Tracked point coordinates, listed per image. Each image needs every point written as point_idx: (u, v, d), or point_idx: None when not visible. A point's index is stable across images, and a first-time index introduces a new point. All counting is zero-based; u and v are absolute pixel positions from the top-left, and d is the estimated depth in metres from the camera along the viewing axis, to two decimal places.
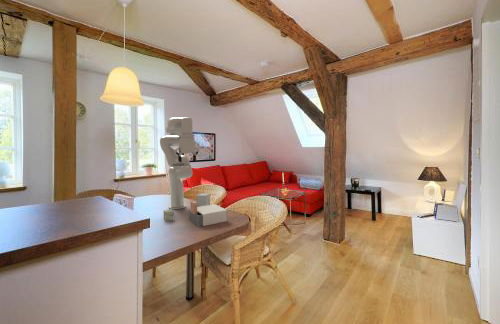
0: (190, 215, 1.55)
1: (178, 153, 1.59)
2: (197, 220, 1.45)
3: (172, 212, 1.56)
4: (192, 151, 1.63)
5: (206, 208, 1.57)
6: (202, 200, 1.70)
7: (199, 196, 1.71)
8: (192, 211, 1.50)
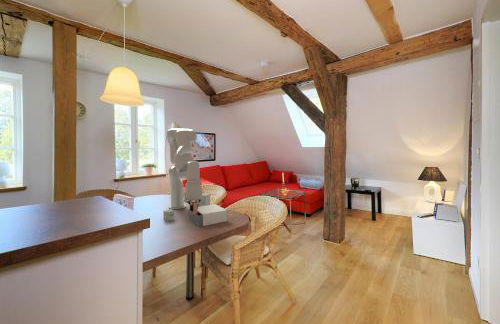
0: (190, 215, 1.55)
1: (189, 203, 1.48)
2: (197, 220, 1.45)
3: (172, 212, 1.56)
4: (199, 197, 1.50)
5: (206, 208, 1.57)
6: (202, 200, 1.70)
7: None
8: None
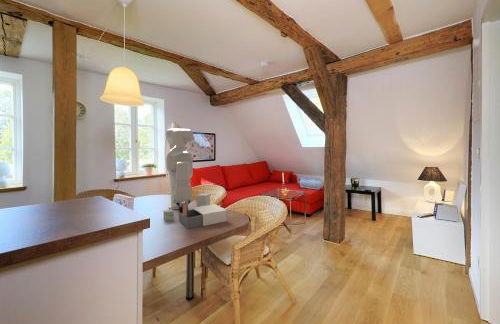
0: (180, 217, 1.51)
1: (178, 205, 1.44)
2: (186, 222, 1.42)
3: (172, 212, 1.56)
4: (189, 199, 1.46)
5: (206, 208, 1.57)
6: (202, 200, 1.70)
7: (199, 196, 1.71)
8: (182, 213, 1.46)
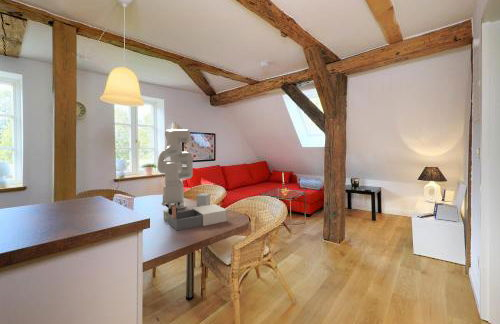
0: (169, 219, 1.48)
1: (167, 206, 1.40)
2: (175, 224, 1.38)
3: None
4: (178, 200, 1.42)
5: (206, 208, 1.57)
6: (202, 200, 1.70)
7: (199, 196, 1.71)
8: (171, 215, 1.43)
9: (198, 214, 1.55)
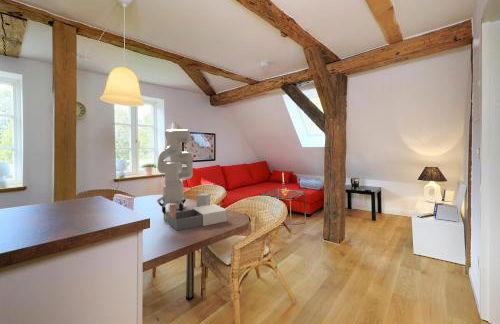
0: (169, 219, 1.48)
1: (162, 204, 1.39)
2: (175, 224, 1.38)
3: None
4: (178, 200, 1.42)
5: (206, 208, 1.57)
6: (202, 200, 1.70)
7: (199, 196, 1.71)
8: (171, 215, 1.43)
9: (198, 214, 1.55)
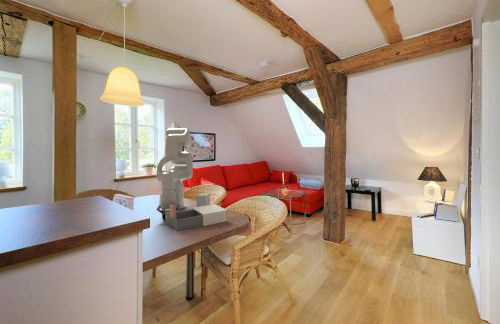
0: (169, 219, 1.48)
1: (161, 212, 1.53)
2: (175, 224, 1.38)
3: None
4: None
5: (206, 208, 1.57)
6: (202, 200, 1.70)
7: (199, 196, 1.71)
8: (171, 215, 1.43)
9: (198, 214, 1.55)
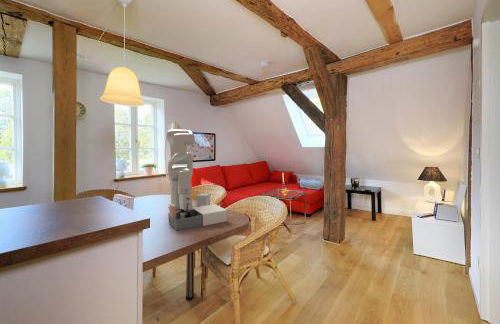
0: (169, 219, 1.48)
1: None
2: (175, 224, 1.38)
3: (182, 216, 1.45)
4: (183, 208, 1.44)
5: (206, 208, 1.57)
6: (202, 200, 1.70)
7: (199, 196, 1.71)
8: (171, 215, 1.43)
9: (198, 214, 1.55)
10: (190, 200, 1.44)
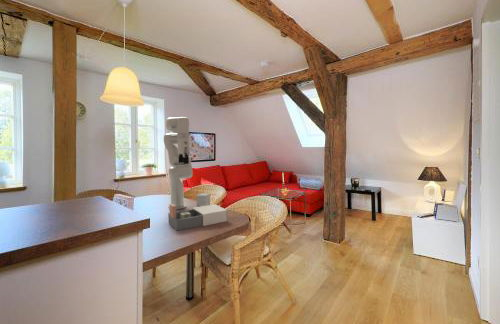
0: (169, 219, 1.48)
1: (179, 153, 1.62)
2: (175, 224, 1.38)
3: (182, 216, 1.45)
4: (181, 152, 1.54)
5: (206, 208, 1.57)
6: (202, 200, 1.70)
7: (199, 196, 1.71)
8: (171, 215, 1.43)
9: (198, 214, 1.55)
10: (188, 144, 1.54)
